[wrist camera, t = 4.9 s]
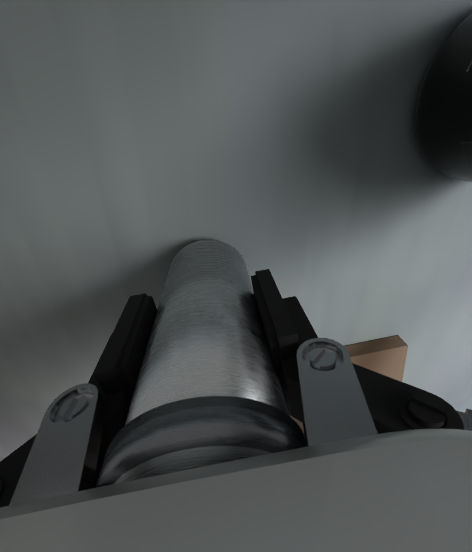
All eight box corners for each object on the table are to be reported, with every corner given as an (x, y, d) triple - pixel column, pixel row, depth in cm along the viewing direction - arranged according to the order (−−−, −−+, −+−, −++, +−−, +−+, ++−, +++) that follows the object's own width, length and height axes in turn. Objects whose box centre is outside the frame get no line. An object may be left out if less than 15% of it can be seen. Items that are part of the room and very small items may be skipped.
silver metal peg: (244, 227, 13) (323, 434, 4) (256, 303, 15) (326, 548, 6) (152, 245, 13) (33, 491, 4) (178, 318, 15) (135, 586, 6)
